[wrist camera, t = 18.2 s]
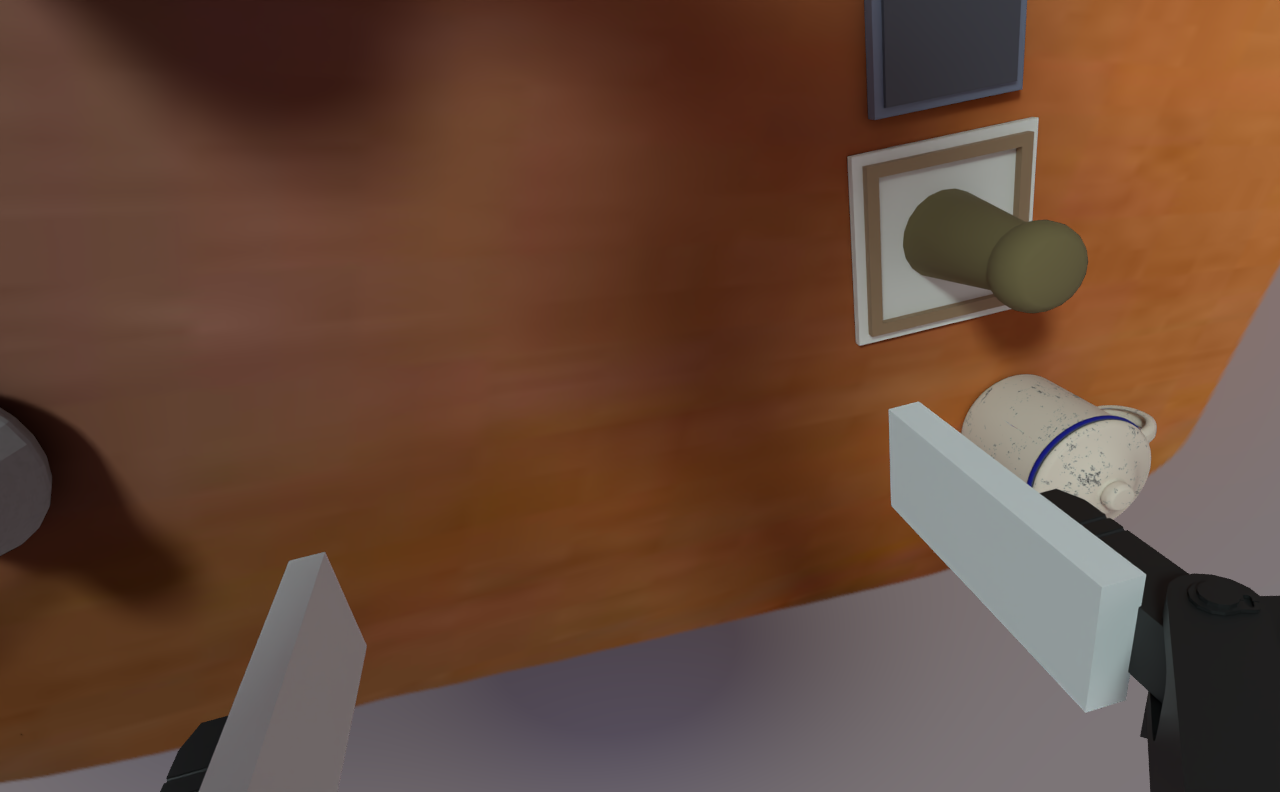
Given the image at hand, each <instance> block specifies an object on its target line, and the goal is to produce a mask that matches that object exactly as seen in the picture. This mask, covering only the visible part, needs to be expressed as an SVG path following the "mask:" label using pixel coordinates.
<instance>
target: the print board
mask: <svg viewBox="0 0 1280 792" xmlns="http://www.w3.org/2000/svg"><path fill="white" fill-rule="evenodd" d="M1038 119H1039V117H1030V118H1025V119H1020V120H1016V121H1011V122H1006V123H1002V124H997V125H992V126H988V127H983V128H978V129H974V130H969V131H964V132H959V133H955V134H950V135H945V136H941V137H936V138H931V139H927V140H922V141H917V142H913V143H908V144H903V145H899V146H894V147H889V148H884V149H880V150H875V151H870V152H866V153H861V154H856V155H852V156H847V160H848V182H849V204H850V226H851V248H852V270H853V292H854V314H855V336H856V343H857V344H858V345H859V346H861V345H865V344H869V343H873V342H877V341H881V340H885V339H889V338H894V337H898V336H902V335H906V334H910V333H914V332H918V331H922V330H927V329H931V328H935V327H939V326H943V325H947V324H951V323H955V322H960V321H964V320H968V319H972V318H976V317H980V316H984V315H988V314H993V313H997V312H1001V311H1005V310H1009V309H1011V308H1009V307H1007V306H1006V305H1004V304H1003V303H1002V302H1000V301H999V300H998V299H997V298H996V297H995V296H994V294H993V293H992V291H991V290H987V289H982V288H978V287H973V286H968V285H964V284H959V283H955V282H950V281H946V280H941V279H937V278H932V277H928V276H923V275H921V274H919V273H918V272H916V271H915V270H914V269H912V267H911V266H910V264H909V263H908V261H907V260H906V258H905V253H904V249H903V238H904V231H905V228H906V225H907V222H908V220H909V218H910V216H911V215H912V213H913V212H914V210H915V209H916V207H917V206H918V205H919V204H920V203H921V202H923V201H924V200H925V199H926V198H927V197H928V196H930V195H932V194H934V193H936V192H939V191H941V190H946V189H955V188H956V189H959V190H963V191H967V192H969V193H971V194H973V195H975V196H977V197H979V198H981V199H983V200H984V201H986V202H988V203H990V204H992V205H994V206H996V207H998V208H1000V209H1002V210H1004V211H1006V212H1008V213H1009V214H1011V215H1013V216H1015V217H1017V218H1019V219H1021V220H1023V221H1025V222H1029V221H1032V216H1033V200H1034V183H1035V167H1036V151H1037V135H1038Z"/></svg>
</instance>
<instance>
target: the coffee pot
mask: <svg viewBox="0 0 1280 792" xmlns="http://www.w3.org/2000/svg"><path fill="white" fill-rule="evenodd" d="M51 489H52V474H51V471H50V467H49V463H48V459H47V456H46V454H45V453H44V451H43V449H42V448H41V446H40V445H39V443H38V441H37V440H36V438H35V436H34V435H33V434H32V433H31V432H30V431H29V430H28V429H27V428H26V427H25V426H24V425H23V424H22V423H21V422H20V421H19V420H18V419H17V418H16V417H14V416H13V415H11V414H10V413H8V412H6V411H5V410H3V409H2V408H0V556H1V555H3V554H5V553H7V552H8V551H10V550H12V549H14V548H16V547H18V546H20V545H21V544H23V543H24V542H25V541H26V540H27V539H28V538H29V537H30V536H31V535H32V534H33V533H34V532H35V531H36V530H37V529H38V528H39V527H40V525H41V523H42V521H43V519H44V517H45V515H46V513H47V511H48V509H49V507H50V501H51Z"/></svg>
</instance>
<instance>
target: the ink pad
mask: <svg viewBox="0 0 1280 792" xmlns="http://www.w3.org/2000/svg"><path fill="white" fill-rule="evenodd" d="M864 8H865V39H866V69H867V99H868V119H871V120H877V119H882V118H887V117H892V116H896V115H901V114H906V113H911V112H916V111H920V110H925V109H930V108H935V107H939V106H944V105H949V104H954V103H959V102H963V101H968V100H973V99H978V98H983V97H987V96H992V95H997V94H1002V93H1007V92H1011V91H1016V90H1021V89H1022V86H1023V67H1024V48H1025V28H1026V9H1027V0H864Z"/></svg>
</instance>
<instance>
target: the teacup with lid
mask: <svg viewBox="0 0 1280 792" xmlns="http://www.w3.org/2000/svg"><path fill="white" fill-rule="evenodd" d="M1138 427H1139V428H1141V429H1139V428H1138ZM1156 429H1157V425H1156V422H1155V420H1154V419H1153V418H1152V417H1151V416H1150V415H1148V414H1146V413H1144V412H1142V411H1140V410H1137V409H1134V408H1130V407H1124V406H1116V405H1104V406H1097V407H1096V406H1094V405H1093V404H1091V403H1089V402H1087V401H1085V400H1083V399H1082V398H1080V397H1078V396H1076V395H1074V394H1073V393H1071V392H1069V391H1067V390H1065V389H1063V388H1062V387H1060V386H1058V385H1056V384H1054V383H1052V382H1051V381H1049V380H1047V379H1045V378H1043V377H1040V376H1037V375H1030V374H1022V375H1015V376H1011V377H1008V378H1006V379H1003V380H1001V381H999V382H997V383H995V384H994V385H992V386H991V387H989V388H988V389H987V390H986V391H984V392H983V393H982V394H981V395H980V396H979V397H978V398H977V400H976V401H975V402H974V403H973V405H972V406H971V408H970V409H969V411H968V413H967V415H966V417H965V420H964V423H963V427H962V432H961V434H962V435H963V436H965V437H966V438H967V439H969V440H970V441H971V442H973V443H974V444H975V445H977V446H978V447H979V448H981V449H982V450H983V451H984V452H986V453H987V454H988V455H990V456H991V457H992V458H994V459H995V460H996V461H998V462H999V463H1000V464H1002V465H1003V466H1004V467H1006V468H1007V469H1008V470H1009V471H1011V472H1012V473H1013V474H1015V475H1016V476H1017V477H1019V478H1020V479H1021V480H1023V481H1024V482H1025V483H1027V484H1028V485H1029V486H1030V487H1032V488H1033V489H1034V490H1036V491H1037V492H1038V493H1042V492H1045V491H1049V490H1053V489H1059V490H1061V491H1064V492H1067V493H1069V494H1072V495H1074V496H1077V497H1079V498H1082V499H1085V500H1086V501H1087V502H1089V503H1090V504H1092V505H1093V506H1094V507H1096V508H1097V509H1099V510H1100V511H1101V512H1103V513H1104V514H1106V517H1107V518H1111V519H1115V518H1116V517H1118V516H1119V515H1120V514H1121V513H1122V512H1124V511H1125V510H1126V509H1127V508H1128V507H1129V506H1130V505H1131V503H1132V502H1133V501H1134V500H1135V499H1136V497H1137V496H1138V494H1139V493H1140V491H1141V490H1142V488H1143V486H1144V484H1145V482H1146V480H1147V477H1148V474H1149V471H1150V465H1151V451H1150V447H1149V444H1148V443H1149V442H1151V441H1152V440H1153V439H1154V437H1155V435H1156Z"/></svg>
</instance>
